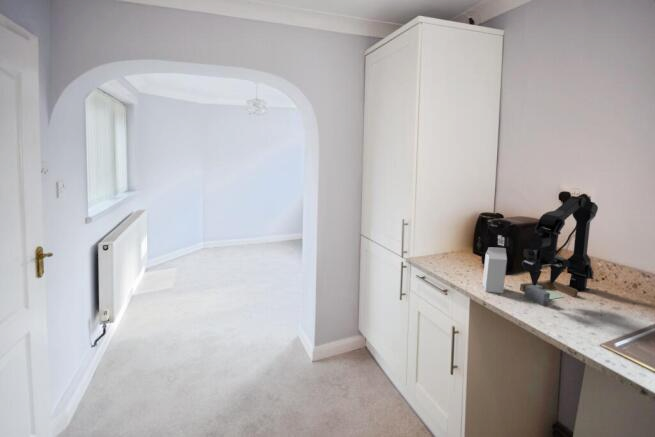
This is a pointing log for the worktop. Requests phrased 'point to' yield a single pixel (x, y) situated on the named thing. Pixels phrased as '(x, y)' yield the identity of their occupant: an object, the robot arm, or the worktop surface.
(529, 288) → the bracket
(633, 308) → the worktop surface
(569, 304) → the worktop surface
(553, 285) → the wooden corner frame
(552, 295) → the pad
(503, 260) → the milk carton
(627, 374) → the worktop surface
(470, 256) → the worktop surface
